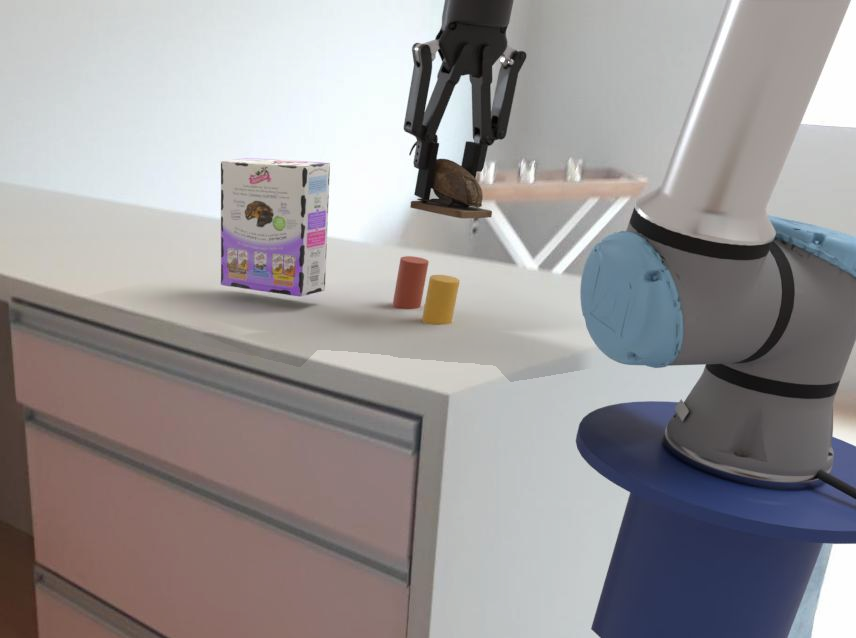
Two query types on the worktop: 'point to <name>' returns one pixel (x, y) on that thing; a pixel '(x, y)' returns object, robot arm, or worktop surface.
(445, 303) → the yellow cylinder
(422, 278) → the red cylinder
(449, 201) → the ibis bird sculpture
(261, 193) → the snack box
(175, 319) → the worktop surface
